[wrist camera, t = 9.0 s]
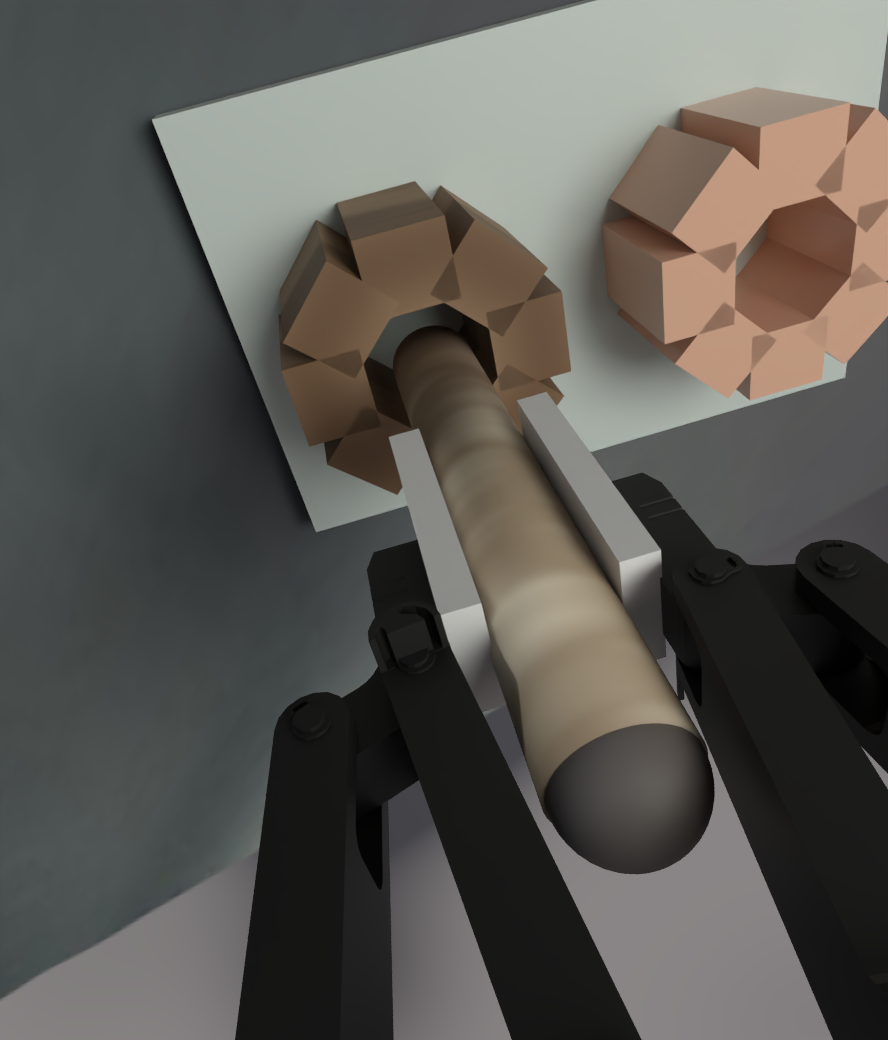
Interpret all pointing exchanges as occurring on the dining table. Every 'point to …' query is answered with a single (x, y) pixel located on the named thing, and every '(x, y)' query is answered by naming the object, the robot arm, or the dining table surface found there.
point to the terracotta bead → (733, 222)
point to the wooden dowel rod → (557, 630)
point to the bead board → (500, 179)
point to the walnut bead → (403, 289)
